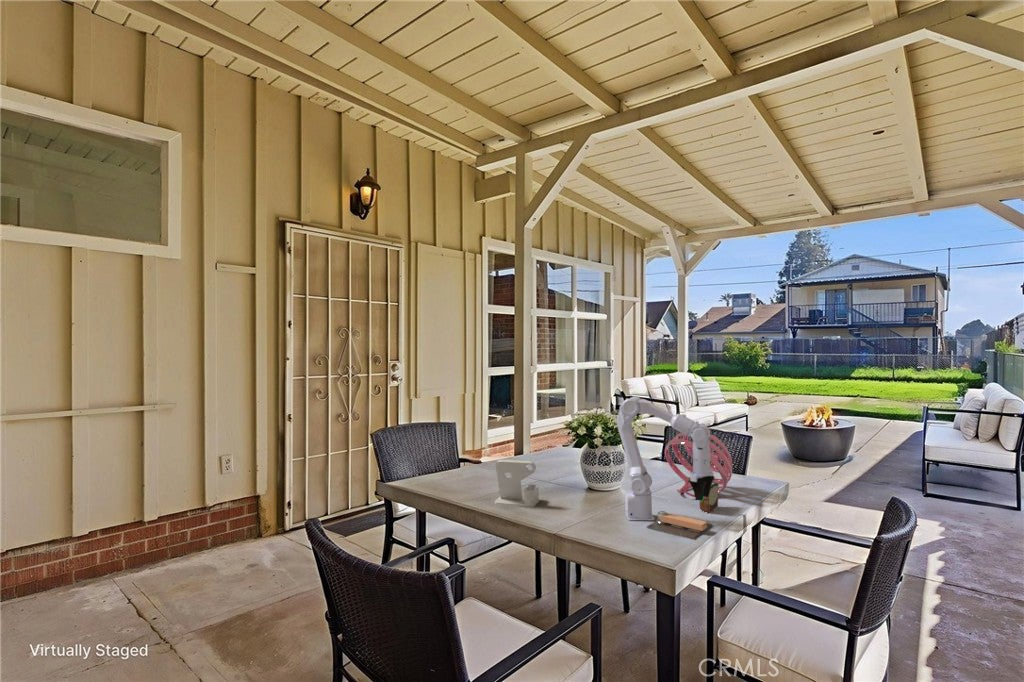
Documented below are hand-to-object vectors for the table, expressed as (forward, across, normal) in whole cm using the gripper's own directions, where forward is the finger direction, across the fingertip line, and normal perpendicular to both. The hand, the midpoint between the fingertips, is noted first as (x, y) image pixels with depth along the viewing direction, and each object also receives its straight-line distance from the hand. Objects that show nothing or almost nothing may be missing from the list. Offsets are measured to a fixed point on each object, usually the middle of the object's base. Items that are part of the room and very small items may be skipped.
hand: (702, 498), depth 179 cm
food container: (+10, +18, +6) cm, 21 cm away
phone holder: (+10, -21, +68) cm, 72 cm away
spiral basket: (+10, +36, +16) cm, 41 cm away
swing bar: (+8, -7, +5) cm, 12 cm away
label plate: (+9, -7, +5) cm, 13 cm away
